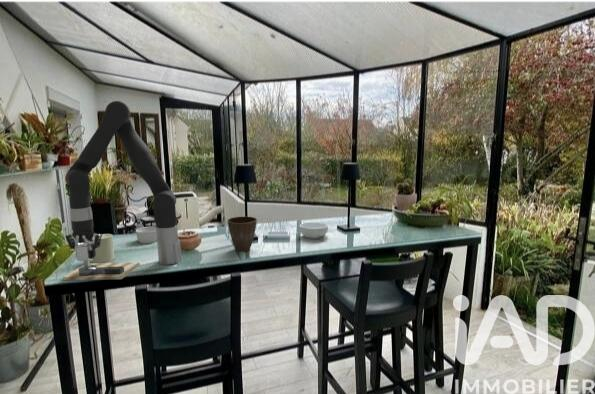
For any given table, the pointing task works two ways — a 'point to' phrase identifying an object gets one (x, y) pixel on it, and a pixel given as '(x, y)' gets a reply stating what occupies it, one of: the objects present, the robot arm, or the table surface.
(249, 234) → the plant pot
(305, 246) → the table surface
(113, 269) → the ratchet
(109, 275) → the board
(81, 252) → the grey pocketed block
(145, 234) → the ramekin
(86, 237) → the robot arm
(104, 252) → the cream cylinder
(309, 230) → the cereal bowl
